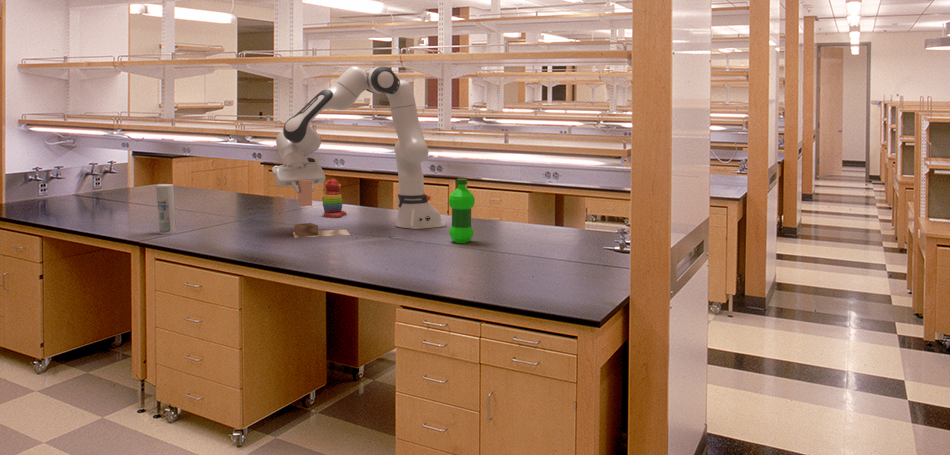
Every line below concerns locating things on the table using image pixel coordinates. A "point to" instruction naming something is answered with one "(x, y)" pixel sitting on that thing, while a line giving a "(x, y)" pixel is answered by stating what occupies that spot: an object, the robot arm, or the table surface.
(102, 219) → the table surface
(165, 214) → the spray can
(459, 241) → the plastic bottle
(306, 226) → the walnut plinth
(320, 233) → the birch base board
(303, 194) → the terracotta pillar
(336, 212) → the stacking bear
